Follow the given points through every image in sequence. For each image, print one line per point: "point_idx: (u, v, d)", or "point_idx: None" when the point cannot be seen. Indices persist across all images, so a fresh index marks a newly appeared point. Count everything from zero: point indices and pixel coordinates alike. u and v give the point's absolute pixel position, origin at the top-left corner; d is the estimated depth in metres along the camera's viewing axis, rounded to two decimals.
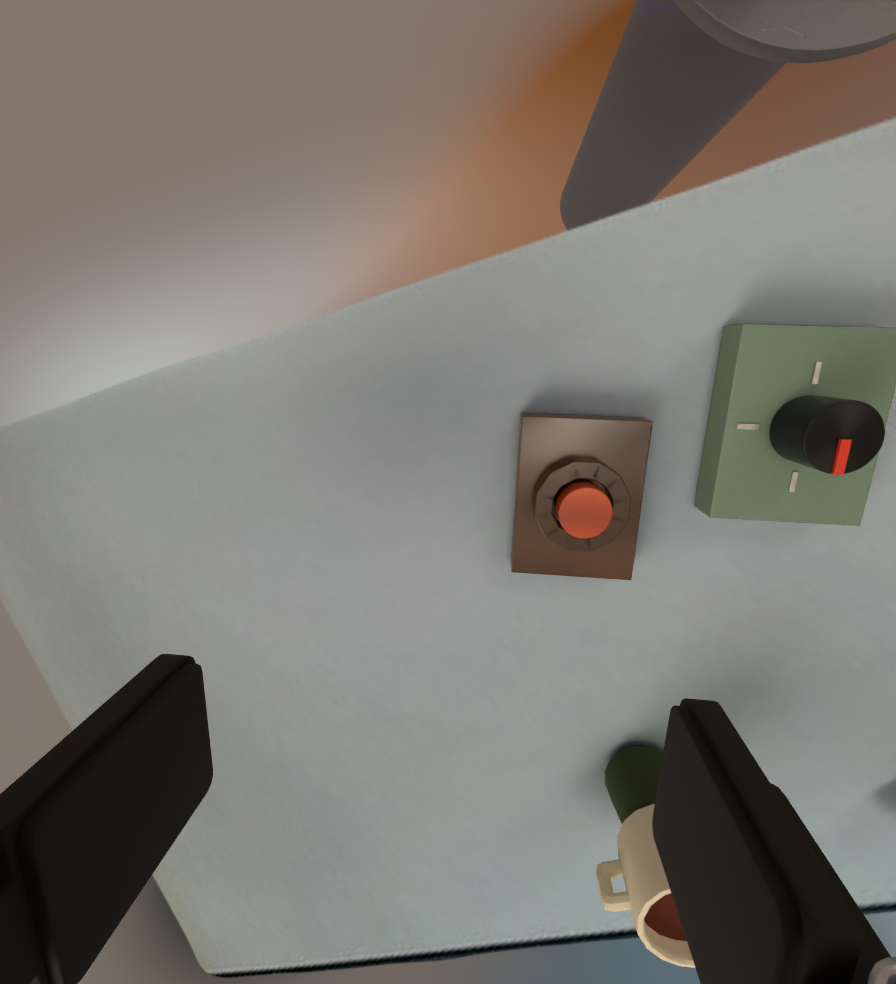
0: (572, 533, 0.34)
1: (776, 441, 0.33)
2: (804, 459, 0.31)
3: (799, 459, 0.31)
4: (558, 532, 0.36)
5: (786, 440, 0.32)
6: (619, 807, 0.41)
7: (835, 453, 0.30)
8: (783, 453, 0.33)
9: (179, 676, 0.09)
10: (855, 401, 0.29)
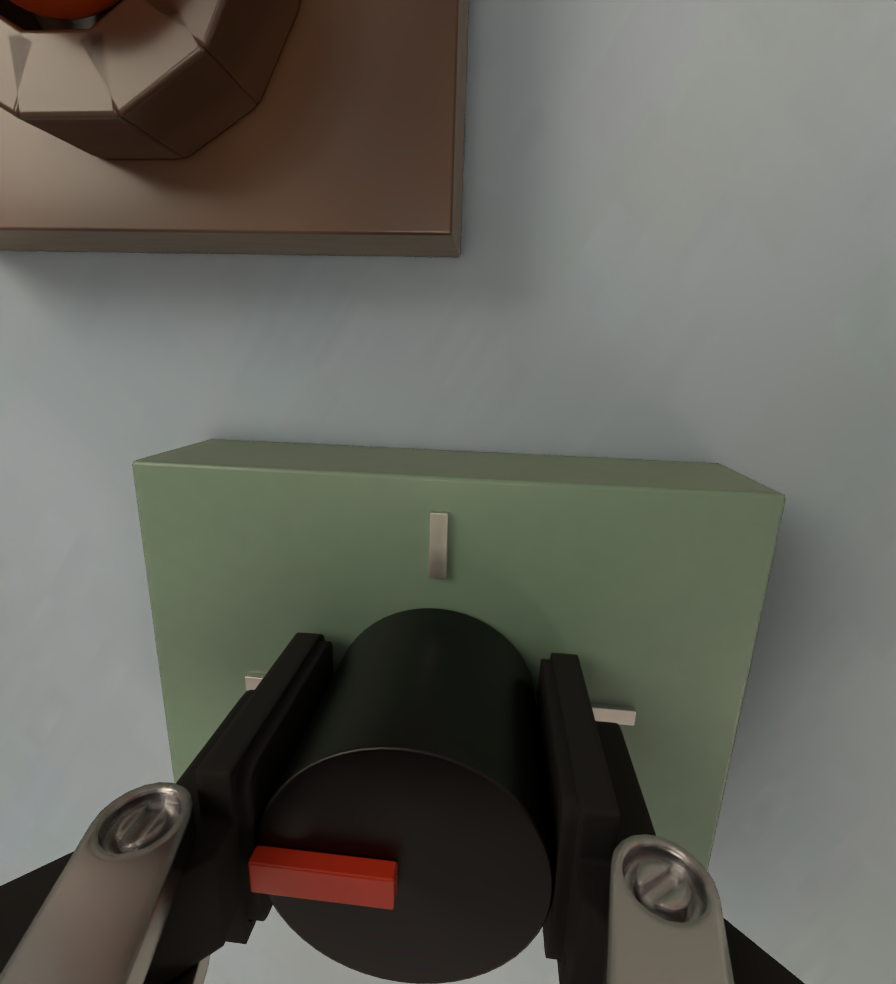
0: None
1: (390, 634, 0.10)
2: (310, 747, 0.07)
3: (319, 721, 0.08)
4: None
5: (389, 669, 0.09)
6: None
7: (337, 853, 0.07)
8: (351, 656, 0.10)
9: (320, 651, 0.10)
10: (547, 900, 0.07)
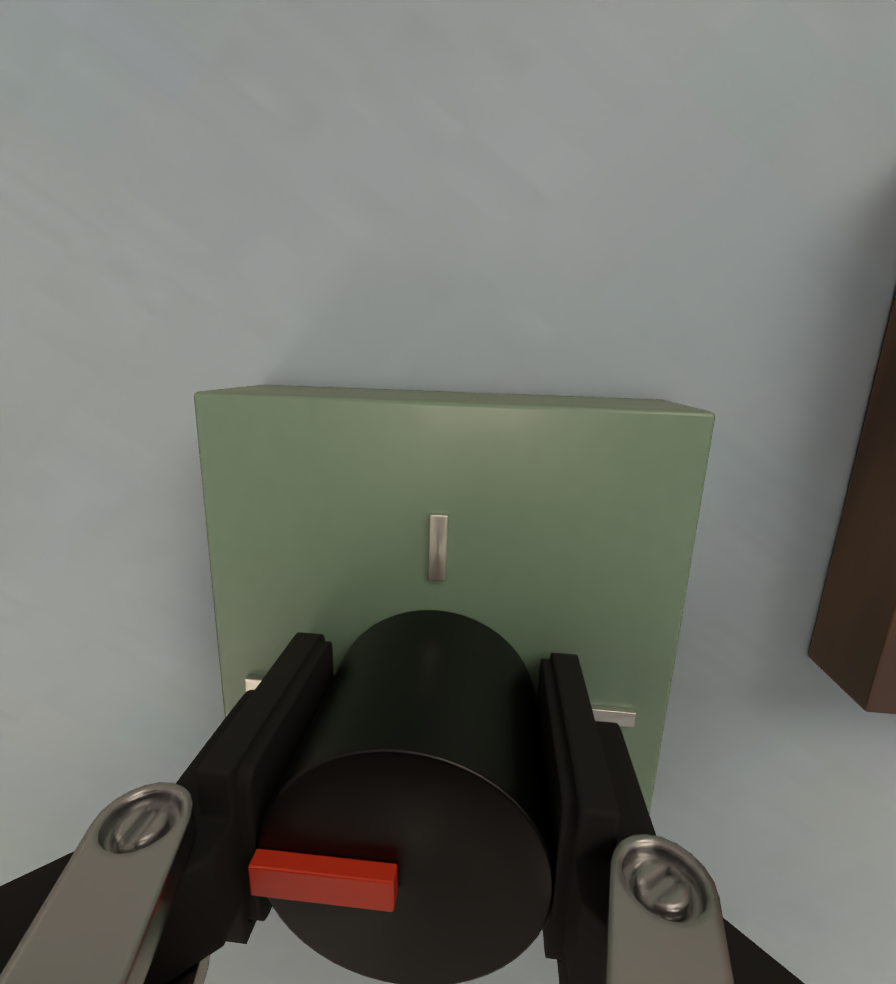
0: None
1: (389, 636, 0.10)
2: (309, 749, 0.07)
3: (318, 724, 0.08)
4: None
5: (388, 671, 0.09)
6: None
7: (337, 856, 0.07)
8: (351, 659, 0.10)
9: (320, 651, 0.10)
10: (548, 902, 0.07)
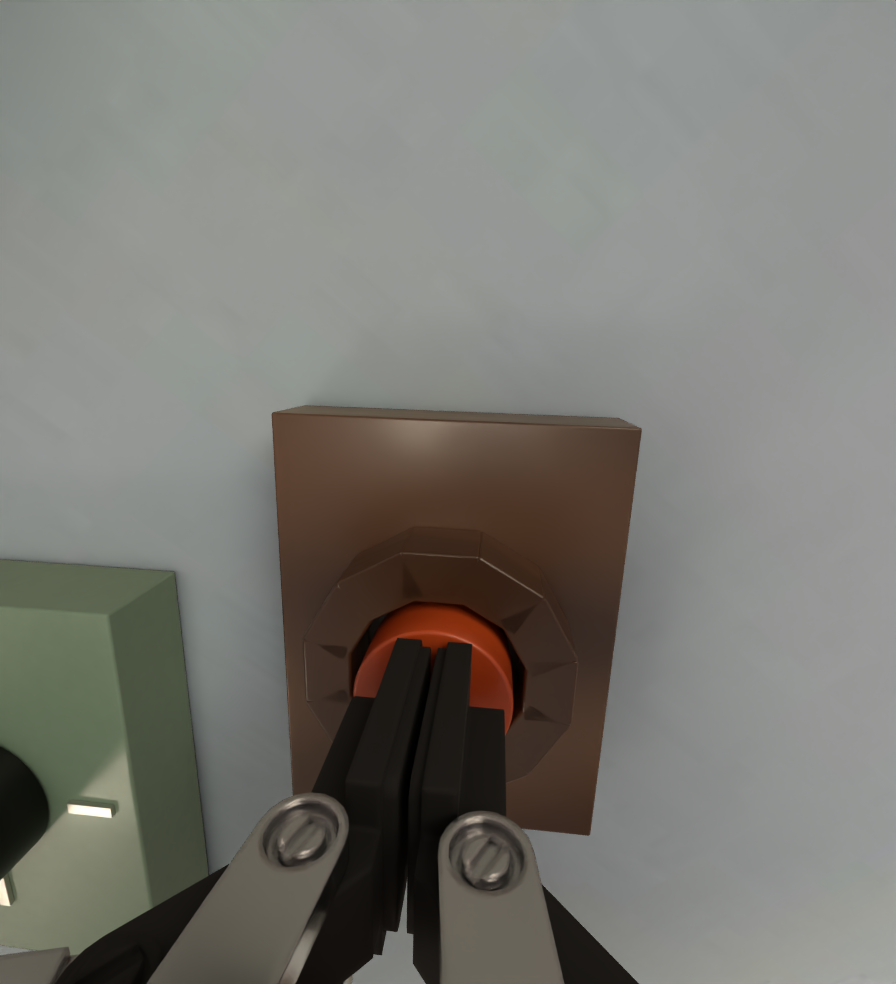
0: None
1: None
2: None
3: None
4: (503, 613, 0.11)
5: None
6: None
7: None
8: None
9: (425, 657, 0.10)
10: None
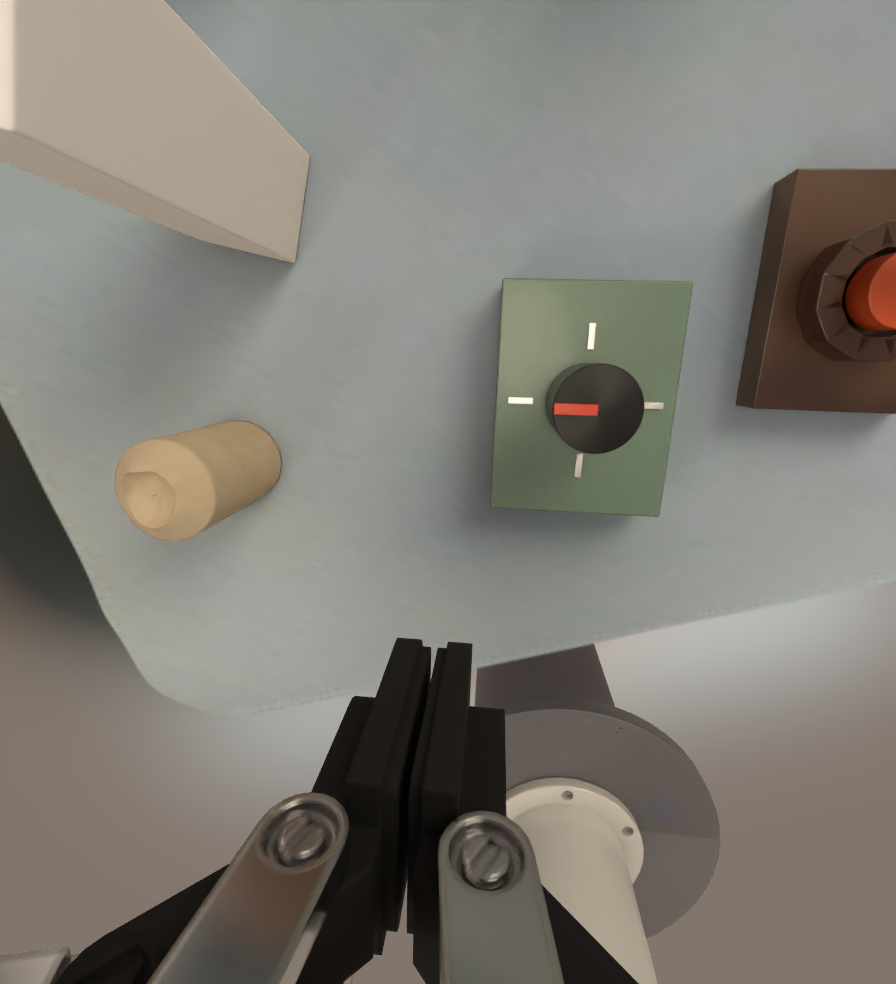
0: None
1: (576, 365, 0.27)
2: (569, 374, 0.25)
3: (566, 375, 0.26)
4: None
5: (584, 364, 0.26)
6: None
7: (579, 403, 0.25)
8: (561, 374, 0.27)
9: (425, 657, 0.10)
10: (642, 414, 0.25)
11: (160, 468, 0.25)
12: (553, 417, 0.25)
